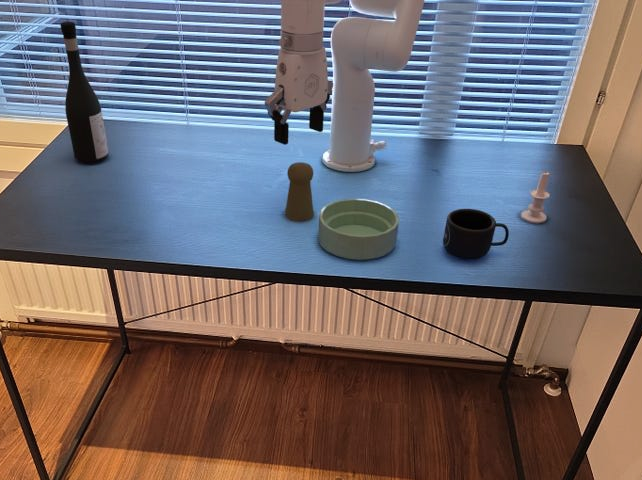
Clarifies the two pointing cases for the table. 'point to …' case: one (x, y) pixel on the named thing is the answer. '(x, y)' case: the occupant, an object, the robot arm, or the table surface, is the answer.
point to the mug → (470, 234)
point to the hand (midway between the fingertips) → (298, 136)
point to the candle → (537, 202)
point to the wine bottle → (82, 107)
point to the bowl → (358, 228)
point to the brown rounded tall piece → (299, 193)
